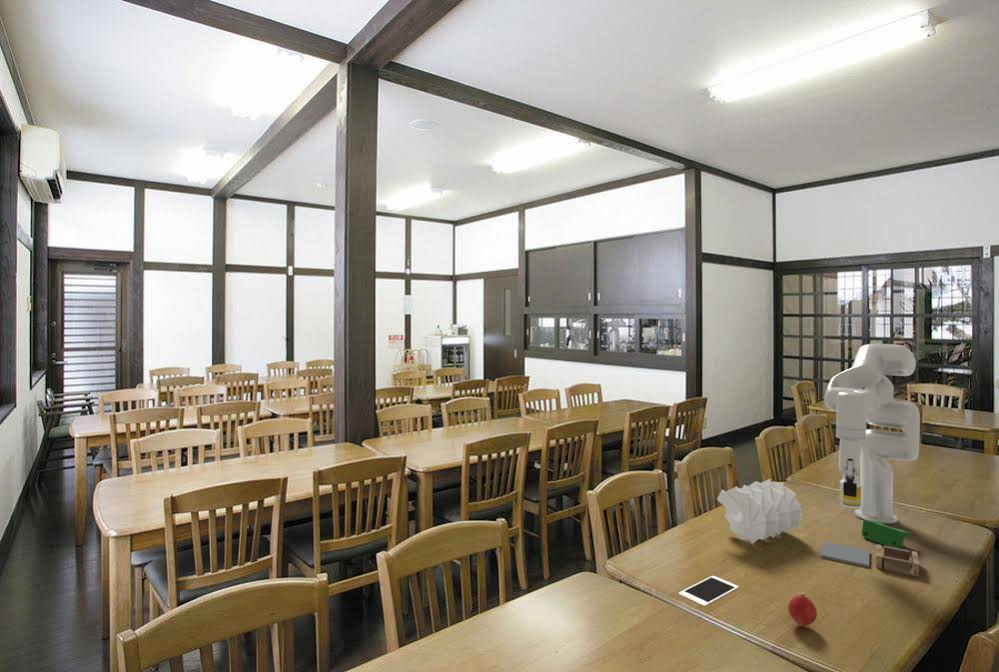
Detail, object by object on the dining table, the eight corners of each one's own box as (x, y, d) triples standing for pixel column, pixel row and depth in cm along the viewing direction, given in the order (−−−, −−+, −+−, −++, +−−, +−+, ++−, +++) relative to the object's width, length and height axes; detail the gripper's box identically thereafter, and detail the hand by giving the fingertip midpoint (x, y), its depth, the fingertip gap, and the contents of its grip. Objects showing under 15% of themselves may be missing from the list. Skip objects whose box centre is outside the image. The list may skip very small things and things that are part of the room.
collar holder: (876, 555, 161) (876, 544, 161) (916, 563, 156) (916, 552, 156) (876, 567, 153) (876, 555, 153) (918, 576, 148) (919, 564, 148)
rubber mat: (823, 543, 170) (823, 541, 170) (869, 552, 163) (869, 550, 163) (820, 557, 160) (820, 554, 160) (869, 567, 153) (869, 565, 153)
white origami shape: (794, 544, 179) (747, 557, 167) (751, 507, 193) (705, 517, 180) (820, 502, 173) (774, 512, 160) (774, 466, 186) (728, 474, 174)
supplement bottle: (835, 502, 163) (835, 471, 163) (852, 502, 164) (852, 471, 163) (848, 509, 158) (848, 477, 158) (865, 508, 158) (865, 476, 158)
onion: (782, 620, 127) (782, 586, 127) (805, 618, 128) (805, 585, 128) (798, 634, 121) (798, 599, 121) (822, 632, 122) (822, 598, 122)
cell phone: (677, 595, 140) (677, 592, 140) (712, 577, 149) (712, 575, 149) (704, 608, 134) (704, 605, 133) (739, 588, 143) (739, 586, 143)
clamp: (900, 559, 168) (917, 537, 166) (889, 558, 166) (906, 535, 163) (866, 532, 179) (882, 510, 176) (855, 530, 176) (871, 508, 174)
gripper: (837, 426, 169) (836, 483, 170) (834, 437, 155) (834, 499, 156) (866, 429, 165) (865, 487, 166) (866, 440, 151) (865, 503, 151)
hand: (850, 492), depth 161 cm, fingers closed on supplement bottle, 5 cm apart
